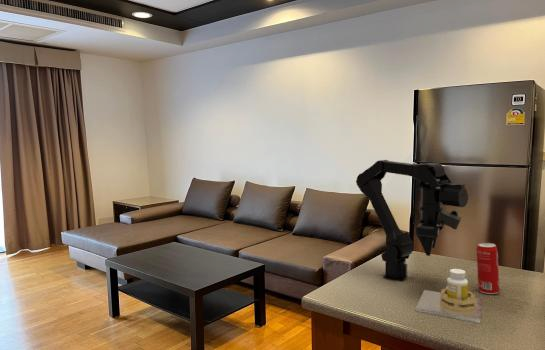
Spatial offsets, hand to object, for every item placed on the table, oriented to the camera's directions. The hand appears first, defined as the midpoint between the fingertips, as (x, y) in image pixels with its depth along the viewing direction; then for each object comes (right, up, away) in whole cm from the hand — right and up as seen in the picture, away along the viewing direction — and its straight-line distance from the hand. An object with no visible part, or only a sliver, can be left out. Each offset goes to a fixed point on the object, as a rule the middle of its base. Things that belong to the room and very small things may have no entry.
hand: (430, 251), depth 124 cm
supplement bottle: (+2, -13, -13) cm, 19 cm away
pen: (+9, -12, +6) cm, 16 cm away
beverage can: (+17, -12, -2) cm, 21 cm away
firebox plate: (0, -13, -13) cm, 18 cm away
